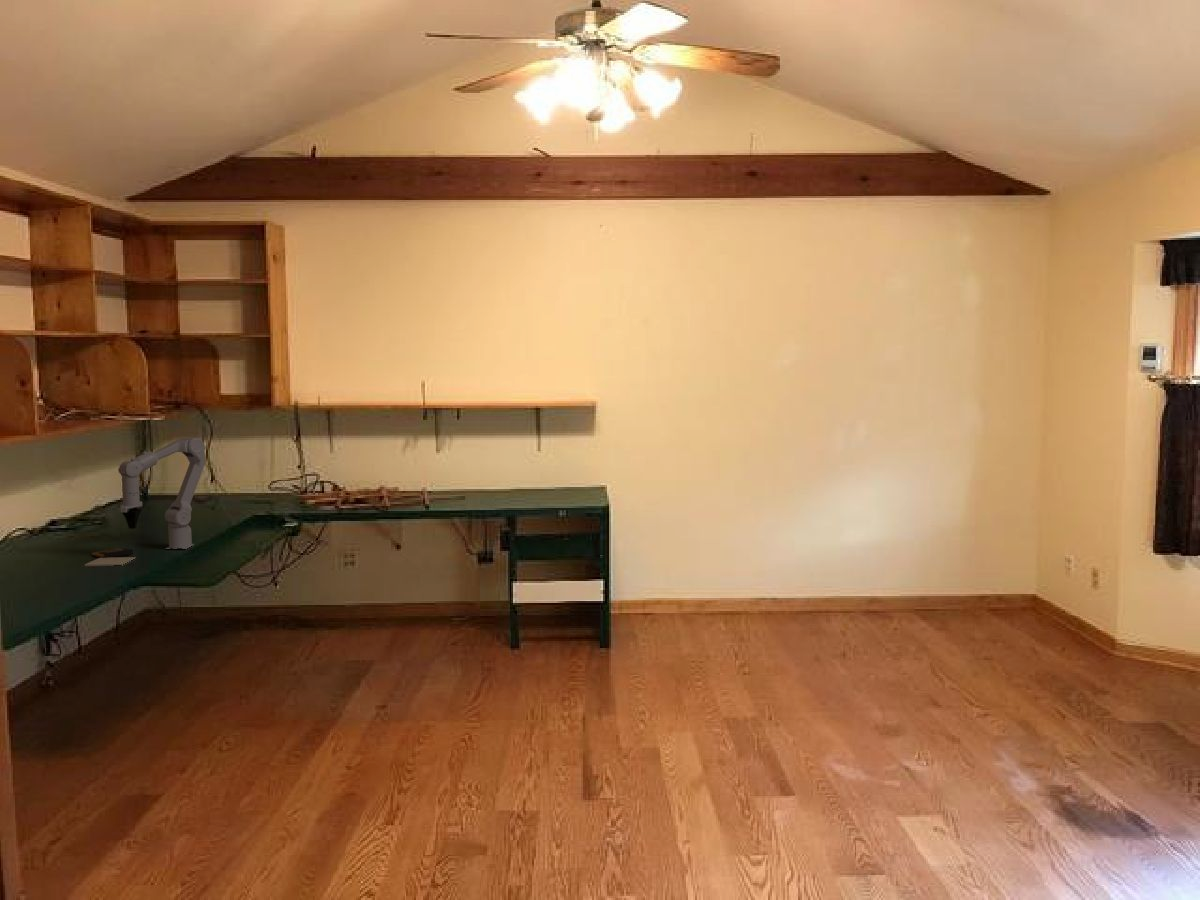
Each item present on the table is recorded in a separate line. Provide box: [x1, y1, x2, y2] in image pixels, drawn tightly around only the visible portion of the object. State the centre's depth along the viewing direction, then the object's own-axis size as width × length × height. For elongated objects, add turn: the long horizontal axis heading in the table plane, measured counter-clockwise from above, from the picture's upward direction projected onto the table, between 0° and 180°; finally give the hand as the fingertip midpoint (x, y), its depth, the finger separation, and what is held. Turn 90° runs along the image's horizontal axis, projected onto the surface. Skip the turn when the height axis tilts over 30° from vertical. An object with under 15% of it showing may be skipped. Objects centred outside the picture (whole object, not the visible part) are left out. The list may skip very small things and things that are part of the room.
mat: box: [84, 556, 137, 567], centre depth 350 cm, size 12×13×1 cm
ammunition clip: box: [91, 548, 134, 558], centre depth 363 cm, size 11×2×12 cm
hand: (132, 528), depth 362 cm, fingers closed
